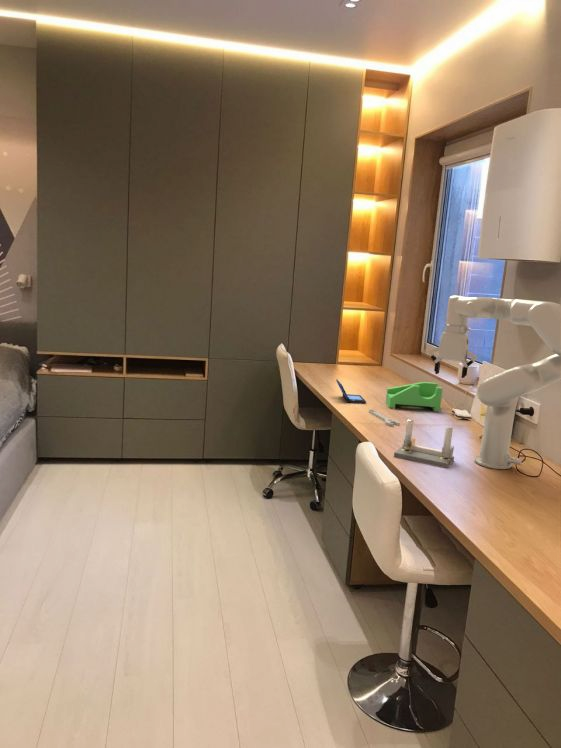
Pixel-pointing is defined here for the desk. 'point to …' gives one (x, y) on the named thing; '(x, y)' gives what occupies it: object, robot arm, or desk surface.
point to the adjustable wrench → (384, 418)
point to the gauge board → (423, 458)
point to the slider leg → (409, 435)
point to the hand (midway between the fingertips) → (450, 375)
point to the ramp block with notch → (415, 395)
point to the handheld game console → (351, 396)
